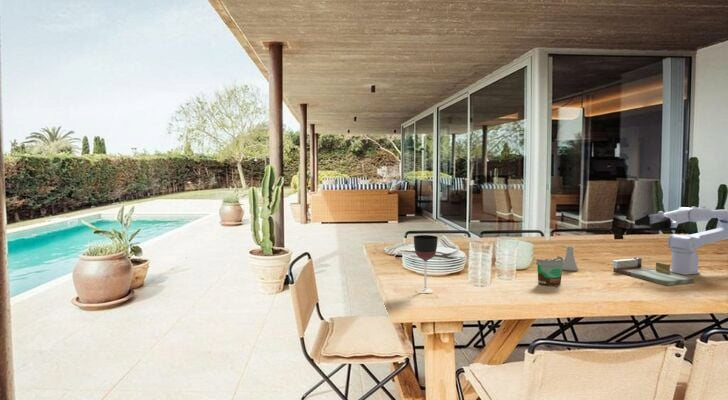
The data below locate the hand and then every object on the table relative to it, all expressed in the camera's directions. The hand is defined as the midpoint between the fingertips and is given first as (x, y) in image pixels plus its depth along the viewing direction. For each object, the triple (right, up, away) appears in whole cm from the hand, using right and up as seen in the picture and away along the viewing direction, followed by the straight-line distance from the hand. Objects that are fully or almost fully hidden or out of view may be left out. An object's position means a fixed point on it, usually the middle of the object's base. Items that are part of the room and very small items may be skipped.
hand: (642, 224), depth 183 cm
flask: (-24, -20, +13) cm, 34 cm away
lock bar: (-1, -19, +9) cm, 21 cm away
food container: (-41, -23, -11) cm, 48 cm away
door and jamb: (+3, -21, 0) cm, 21 cm away
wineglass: (-91, -23, -19) cm, 96 cm away
